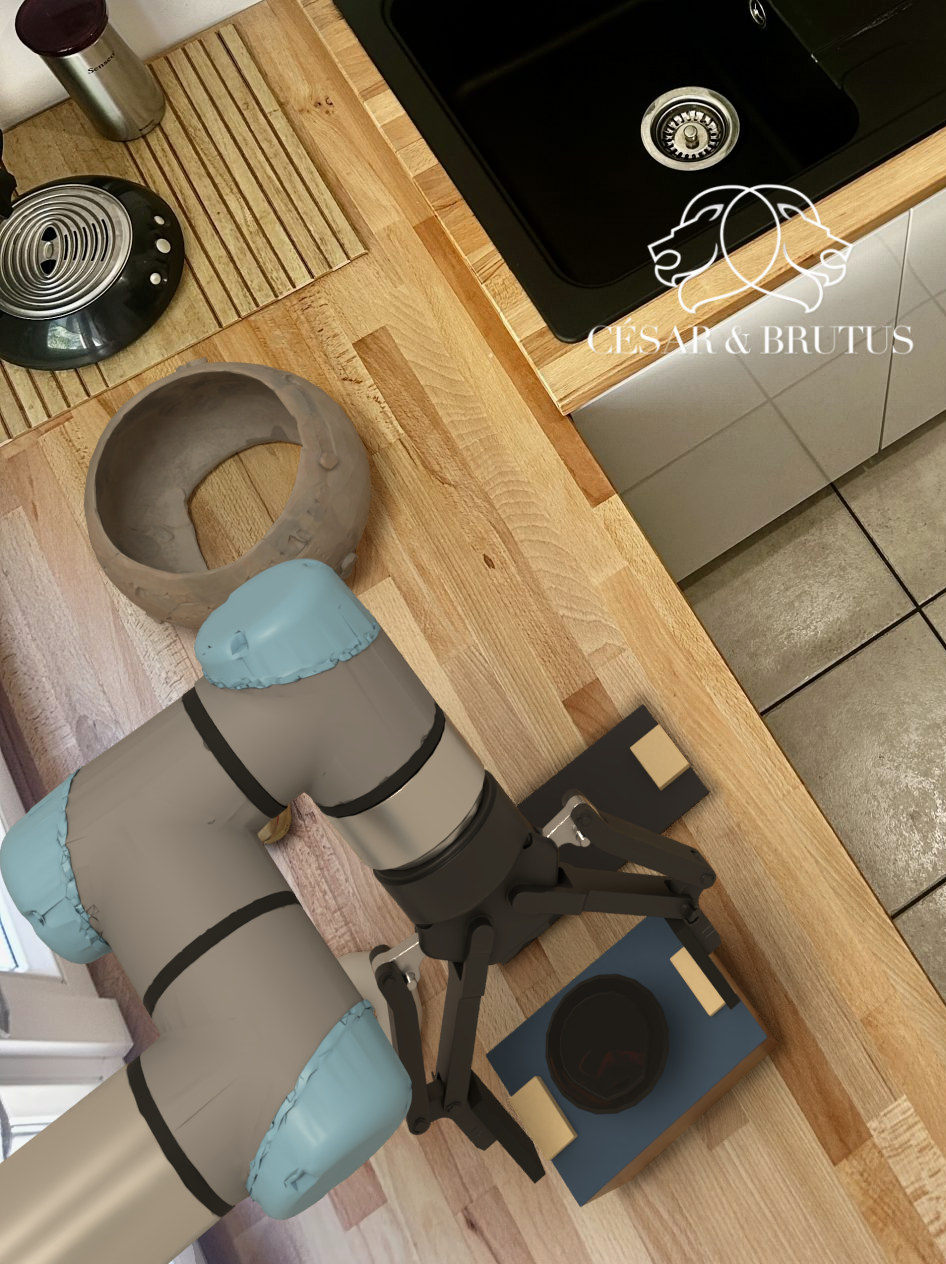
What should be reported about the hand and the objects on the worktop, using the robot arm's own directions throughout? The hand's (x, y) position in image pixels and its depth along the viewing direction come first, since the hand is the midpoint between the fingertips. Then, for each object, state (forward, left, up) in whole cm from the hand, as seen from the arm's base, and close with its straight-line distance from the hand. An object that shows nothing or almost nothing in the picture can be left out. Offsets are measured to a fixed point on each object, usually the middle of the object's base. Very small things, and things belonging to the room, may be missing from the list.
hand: (632, 1075), depth 84 cm
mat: (+4, +19, -30) cm, 36 cm away
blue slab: (0, +2, -6) cm, 6 cm away
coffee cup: (0, +2, -6) cm, 6 cm away
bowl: (-3, +58, -30) cm, 65 cm away
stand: (0, +2, -30) cm, 30 cm away
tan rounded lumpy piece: (-15, +37, -30) cm, 50 cm away
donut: (-17, +18, -30) cm, 39 cm away
